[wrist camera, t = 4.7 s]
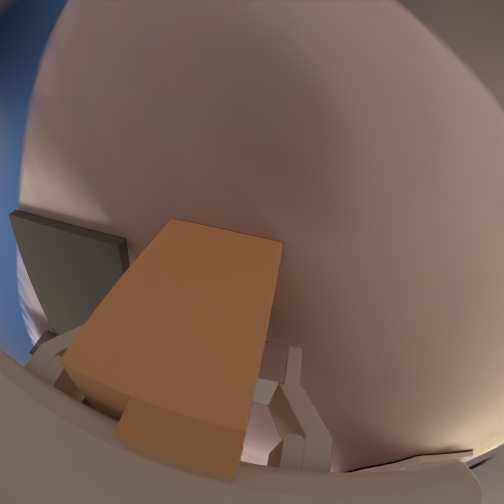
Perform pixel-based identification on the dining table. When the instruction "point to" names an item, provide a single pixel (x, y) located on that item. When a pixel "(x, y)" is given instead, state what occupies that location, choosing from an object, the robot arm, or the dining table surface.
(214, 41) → the dining table surface
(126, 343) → the stepped tan block
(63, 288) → the mount pad
